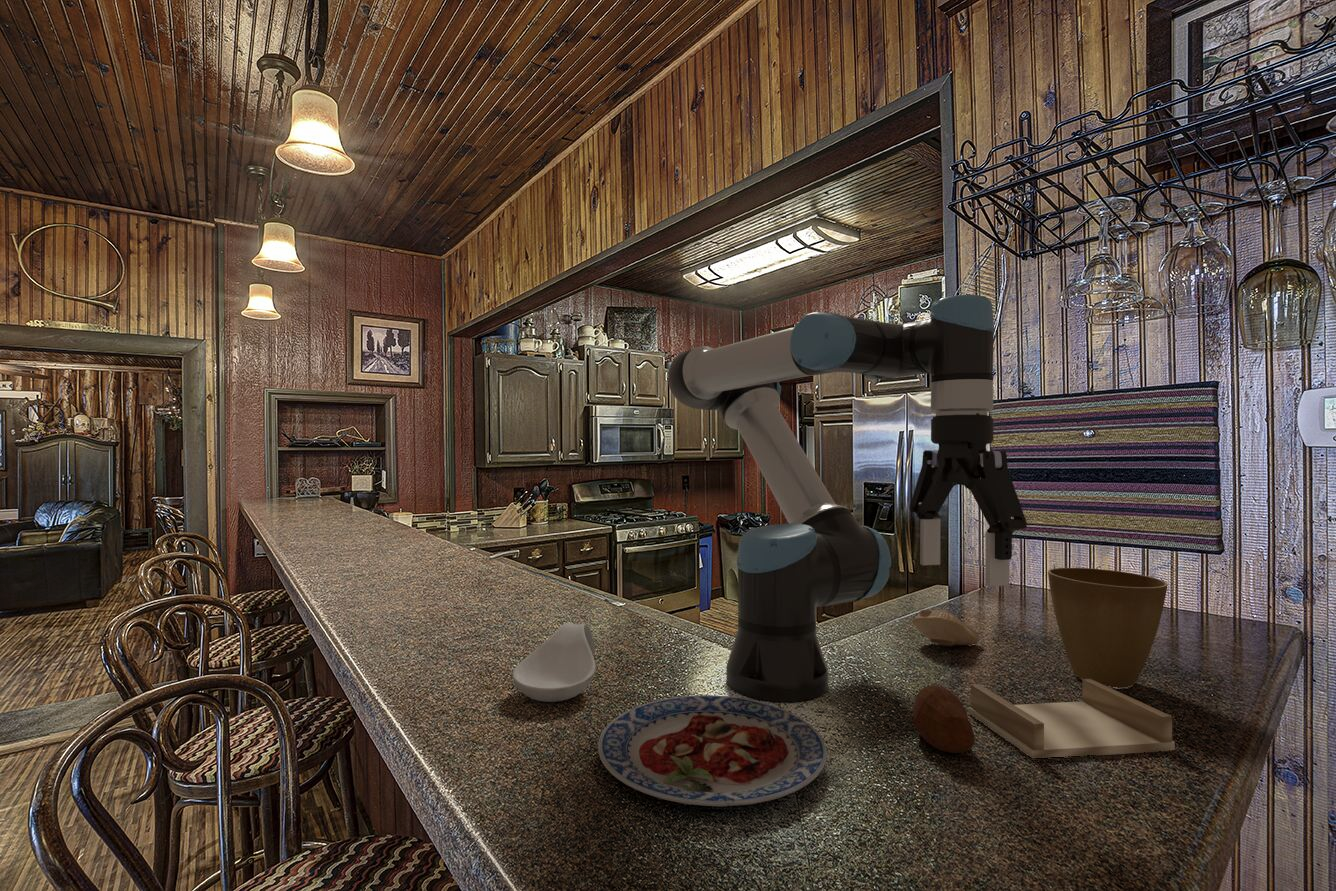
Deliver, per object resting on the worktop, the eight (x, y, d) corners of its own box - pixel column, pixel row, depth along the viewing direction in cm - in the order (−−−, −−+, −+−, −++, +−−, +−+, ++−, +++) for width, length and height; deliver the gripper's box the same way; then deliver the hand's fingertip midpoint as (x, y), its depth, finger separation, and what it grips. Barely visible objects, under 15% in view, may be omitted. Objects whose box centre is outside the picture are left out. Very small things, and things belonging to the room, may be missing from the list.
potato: (938, 768, 68) (937, 709, 68) (897, 722, 80) (897, 672, 80) (992, 767, 69) (991, 709, 69) (943, 722, 80) (943, 672, 80)
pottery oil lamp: (996, 653, 107) (996, 612, 107) (933, 657, 105) (933, 615, 105) (963, 638, 116) (963, 600, 116) (904, 641, 114) (904, 603, 114)
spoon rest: (586, 714, 83) (586, 660, 83) (500, 711, 84) (500, 658, 84) (613, 656, 107) (614, 614, 107) (546, 654, 107) (546, 613, 107)
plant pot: (1114, 705, 85) (1114, 589, 85) (1025, 668, 99) (1025, 569, 100) (1194, 694, 89) (1193, 583, 89) (1097, 660, 103) (1097, 564, 104)
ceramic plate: (689, 695, 89) (689, 675, 89) (864, 750, 73) (864, 725, 73) (549, 766, 69) (549, 740, 69) (746, 863, 53) (746, 828, 53)
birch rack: (1031, 759, 70) (1031, 724, 70) (968, 714, 82) (968, 684, 82) (1174, 750, 72) (1174, 716, 72) (1092, 708, 84) (1092, 678, 84)
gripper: (1062, 409, 71) (1061, 595, 71) (930, 418, 95) (930, 556, 95) (1004, 408, 69) (1003, 597, 69) (885, 418, 94) (885, 558, 94)
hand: (961, 574), depth 82 cm, fingers open, 13 cm apart
